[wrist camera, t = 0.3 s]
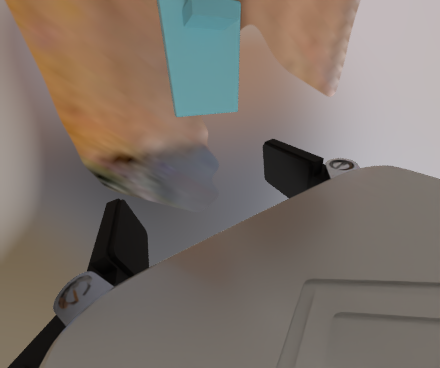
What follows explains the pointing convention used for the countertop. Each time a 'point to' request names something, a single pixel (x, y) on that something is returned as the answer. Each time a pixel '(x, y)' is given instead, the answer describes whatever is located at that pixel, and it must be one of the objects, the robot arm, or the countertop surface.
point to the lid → (202, 54)
